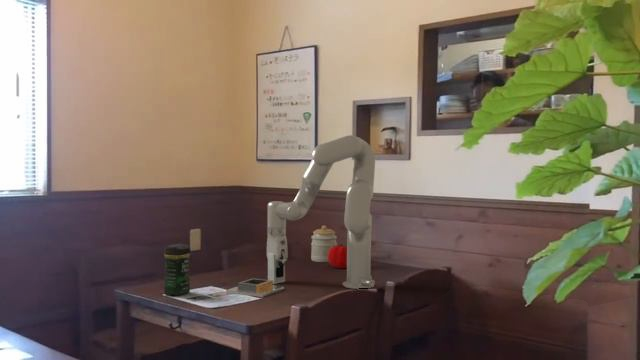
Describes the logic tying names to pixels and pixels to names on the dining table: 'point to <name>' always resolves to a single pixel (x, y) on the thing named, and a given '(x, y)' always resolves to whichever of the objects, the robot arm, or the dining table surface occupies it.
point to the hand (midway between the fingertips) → (276, 275)
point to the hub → (255, 288)
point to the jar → (322, 244)
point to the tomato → (338, 256)
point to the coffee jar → (177, 269)
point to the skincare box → (274, 270)
